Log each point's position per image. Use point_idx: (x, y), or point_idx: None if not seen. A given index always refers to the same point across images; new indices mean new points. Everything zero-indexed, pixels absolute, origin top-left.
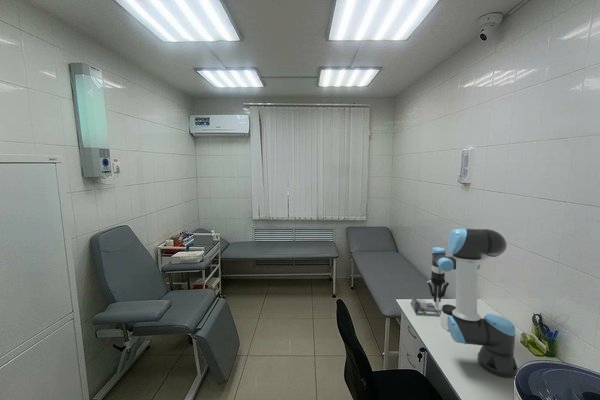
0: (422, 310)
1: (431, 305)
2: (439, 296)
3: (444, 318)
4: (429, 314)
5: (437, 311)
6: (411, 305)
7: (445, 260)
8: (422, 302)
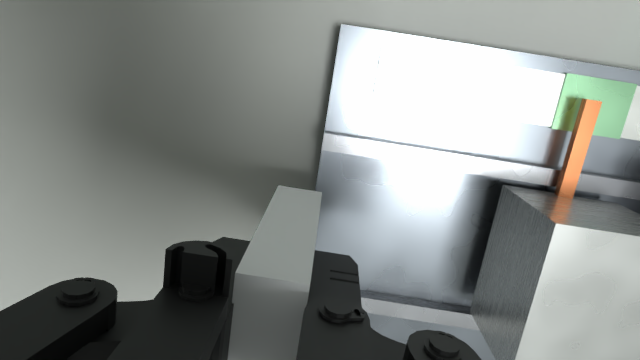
0: None
1: None
2: (210, 301)
3: None
4: (513, 51)
5: (328, 128)
6: None
7: None
8: (632, 267)
